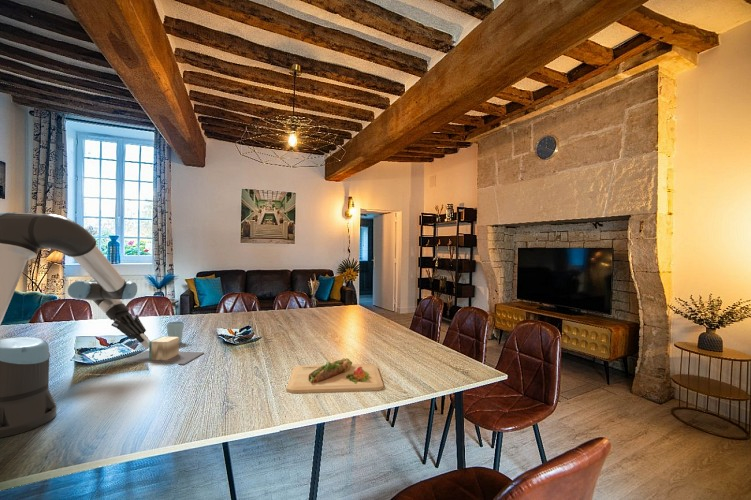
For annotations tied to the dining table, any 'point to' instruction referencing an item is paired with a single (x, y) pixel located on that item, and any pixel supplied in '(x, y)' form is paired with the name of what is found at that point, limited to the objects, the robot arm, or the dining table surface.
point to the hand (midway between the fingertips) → (149, 346)
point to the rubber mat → (178, 359)
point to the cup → (175, 329)
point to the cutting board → (334, 377)
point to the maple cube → (163, 348)
